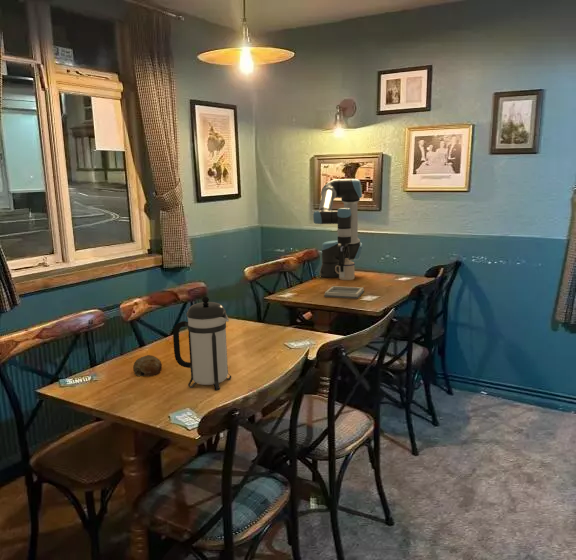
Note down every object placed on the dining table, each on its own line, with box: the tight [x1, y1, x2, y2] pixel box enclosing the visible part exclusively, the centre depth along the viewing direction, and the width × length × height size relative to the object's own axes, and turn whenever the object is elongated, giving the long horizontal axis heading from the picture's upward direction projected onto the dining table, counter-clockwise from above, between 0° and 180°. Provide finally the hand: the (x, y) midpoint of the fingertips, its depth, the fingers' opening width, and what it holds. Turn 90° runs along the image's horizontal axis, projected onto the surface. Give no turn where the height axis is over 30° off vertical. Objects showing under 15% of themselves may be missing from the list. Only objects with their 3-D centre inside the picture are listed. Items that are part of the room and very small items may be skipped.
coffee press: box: [172, 296, 232, 391], centre depth 175 cm, size 17×16×30 cm
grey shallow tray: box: [323, 285, 365, 299], centre depth 301 cm, size 17×19×2 cm
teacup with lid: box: [335, 258, 356, 281], centre depth 299 cm, size 12×9×12 cm
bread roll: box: [132, 354, 163, 378], centre depth 189 cm, size 10×10×8 cm
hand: (344, 275), depth 299 cm, fingers closed on teacup with lid, 9 cm apart
